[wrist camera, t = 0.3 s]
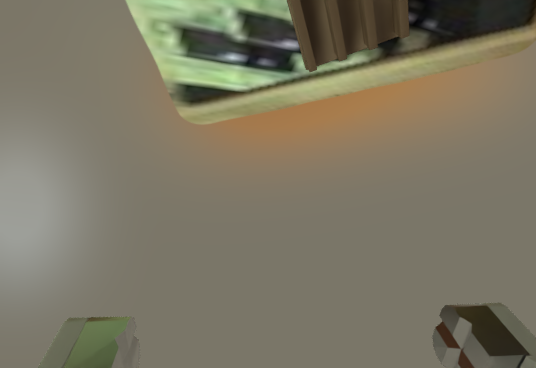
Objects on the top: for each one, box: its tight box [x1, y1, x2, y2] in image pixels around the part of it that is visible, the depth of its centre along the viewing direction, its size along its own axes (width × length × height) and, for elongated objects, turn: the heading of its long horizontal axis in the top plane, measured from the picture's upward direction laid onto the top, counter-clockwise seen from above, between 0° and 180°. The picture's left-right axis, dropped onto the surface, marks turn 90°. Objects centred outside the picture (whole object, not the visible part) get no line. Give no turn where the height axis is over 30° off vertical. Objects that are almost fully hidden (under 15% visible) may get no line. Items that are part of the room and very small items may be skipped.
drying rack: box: [287, 0, 409, 72], centre depth 50 cm, size 16×14×4 cm
